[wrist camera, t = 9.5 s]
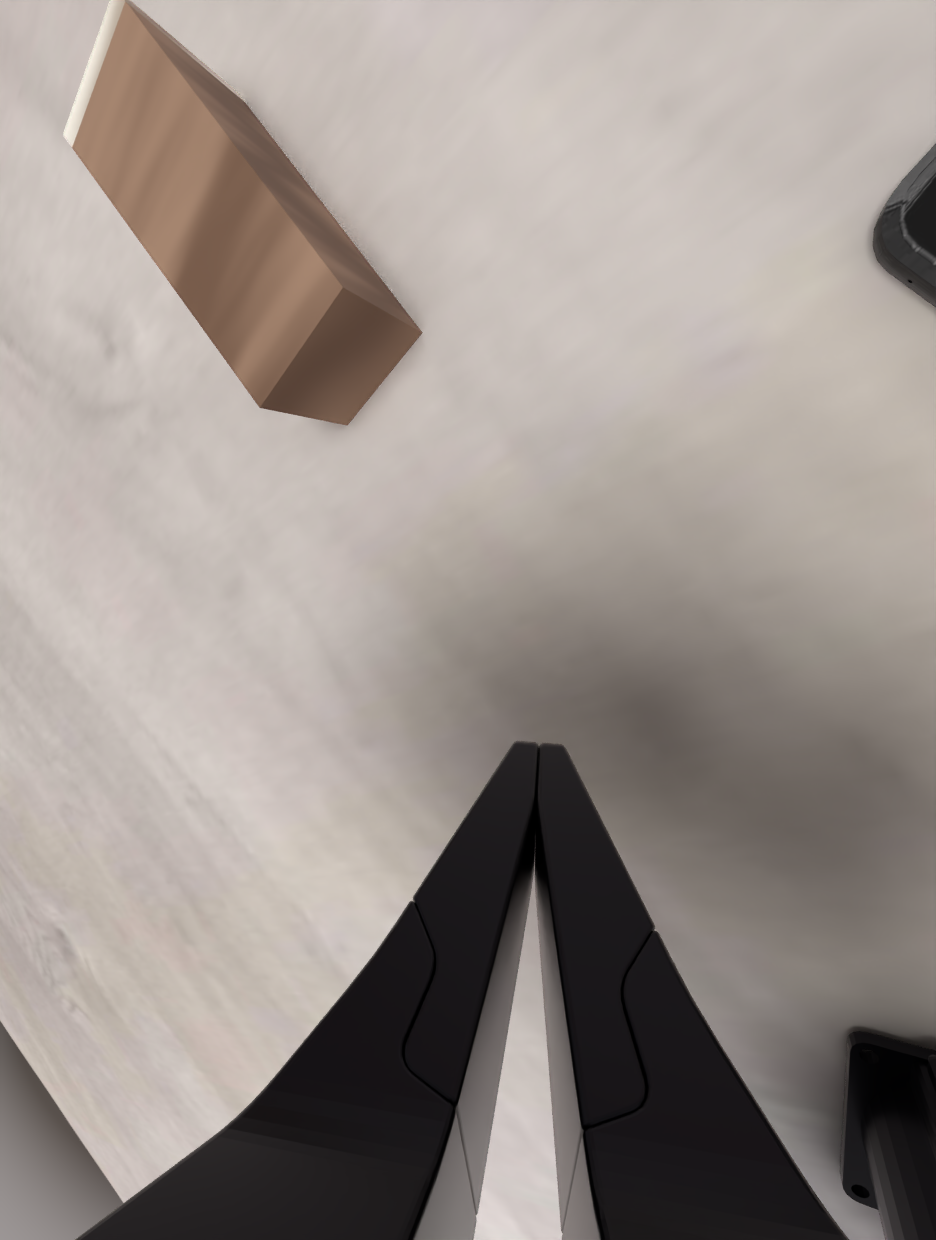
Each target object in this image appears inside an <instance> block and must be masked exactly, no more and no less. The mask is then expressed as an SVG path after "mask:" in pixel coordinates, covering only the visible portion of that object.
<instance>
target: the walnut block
mask: <svg viewBox="0 0 936 1240" xmlns="http://www.w3.org/2000/svg"><path fill="white" fill-rule="evenodd" d="M63 136H64V137H65V139H66V140H67V141H68V143H69V144H70V145H71V147H72V148H73V150H74V151H75V152H76V154H77V155H78V157H79V158H80V159H81V161H82V162H83V163H84V165H85V166H86V168H87V169H88V170H89V172H90V173H91V175H92V176H93V177H94V179H95V180H96V181H97V183H98V184H99V186H100V187H101V188H102V190H103V191H104V193H105V194H106V195H107V197H108V198H109V199H110V201H111V202H112V204H113V205H114V206H115V208H116V209H117V211H118V212H119V213H120V215H121V216H122V217H123V219H124V220H125V222H126V223H127V224H128V226H129V227H130V229H131V230H132V231H133V233H134V234H135V236H136V237H137V238H138V240H139V241H140V242H141V244H142V245H143V247H144V248H145V249H146V251H147V252H148V254H149V255H150V256H151V258H152V259H153V260H154V262H155V263H156V265H157V266H158V267H159V269H160V270H161V272H162V273H163V274H164V276H165V277H166V278H167V280H168V281H169V283H170V284H171V285H172V287H173V288H174V290H175V291H176V292H177V294H178V295H179V296H180V298H181V299H182V301H183V302H184V303H185V305H186V306H187V308H188V309H189V310H190V312H191V313H192V315H193V316H194V317H195V319H196V320H197V321H198V323H199V324H200V326H201V327H202V328H203V330H204V331H205V333H206V334H207V335H208V337H209V338H210V339H211V341H212V342H213V344H214V345H215V346H216V348H217V349H218V351H219V352H220V353H221V355H222V356H223V357H224V359H225V360H226V362H227V363H228V364H229V366H230V367H231V369H232V370H233V371H234V373H235V374H236V375H237V377H238V378H239V380H240V381H241V382H242V384H243V385H244V387H245V388H246V389H247V391H248V392H249V393H250V395H251V396H252V398H253V399H254V400H255V402H256V403H257V405H258V406H259V407H260V408H264V409H269V410H274V411H278V412H283V413H288V414H293V415H298V416H303V417H308V418H313V419H318V420H323V421H328V422H333V423H338V424H343V425H348V424H349V423H350V421H351V420H352V419H353V418H354V416H355V415H356V414H357V413H358V411H359V410H360V409H361V408H362V407H363V405H364V404H365V403H366V402H367V400H368V399H369V398H370V397H371V395H372V394H373V393H374V392H375V391H376V389H377V388H378V387H379V386H380V384H381V383H382V382H383V381H384V379H385V378H386V377H387V376H388V374H389V373H390V372H391V371H392V370H393V368H394V367H395V366H396V365H397V363H398V362H399V361H400V360H401V358H402V357H403V356H404V355H405V353H406V352H407V351H408V350H409V349H410V347H411V346H412V345H413V344H414V342H415V341H416V340H417V339H418V337H419V336H420V335H421V334H422V332H421V330H420V329H419V328H418V326H417V325H416V324H415V323H414V321H413V320H412V319H411V317H410V316H409V315H408V313H407V312H406V311H405V310H404V308H403V307H402V306H401V304H400V303H399V302H398V300H397V299H396V298H395V297H394V295H393V294H392V293H391V291H390V290H389V289H388V288H387V286H386V285H385V284H384V282H383V281H382V280H381V278H380V277H379V276H378V275H377V273H376V272H375V271H374V269H373V268H372V267H371V265H370V264H369V263H368V262H367V260H366V259H365V258H364V256H363V255H362V254H361V252H360V251H359V250H358V249H357V247H356V246H355V245H354V243H353V242H352V241H351V239H350V238H349V237H348V236H347V234H346V233H345V232H344V230H343V229H342V228H341V227H340V225H339V224H338V223H337V221H336V220H335V219H334V217H333V216H332V215H331V214H330V212H329V211H328V210H327V208H326V207H325V206H324V204H323V203H322V202H321V201H320V199H319V198H318V197H317V195H316V194H315V193H314V191H313V190H312V189H311V188H310V186H309V185H308V184H307V182H306V181H305V180H304V178H303V177H302V176H301V175H300V173H299V172H298V171H297V169H296V168H295V167H294V166H293V164H292V163H291V162H290V160H289V159H288V158H287V156H286V155H285V154H284V153H283V151H282V150H281V149H280V147H279V146H278V145H277V143H276V142H275V141H274V140H273V138H272V137H271V136H270V134H269V133H268V132H267V130H266V129H265V128H264V127H263V125H262V124H261V123H260V121H259V120H258V119H257V118H256V116H255V115H254V114H253V112H252V111H251V110H250V108H249V107H248V106H247V105H246V103H245V102H244V101H243V99H242V98H241V97H240V95H239V94H238V93H237V92H236V90H234V89H233V88H232V87H231V86H230V85H229V84H227V83H226V82H225V81H224V80H223V79H222V78H220V77H219V76H218V75H217V74H216V73H215V72H213V71H212V70H211V69H210V68H209V67H208V66H206V65H205V64H204V63H203V62H202V61H201V60H199V59H198V58H197V57H196V56H195V55H193V54H192V53H191V52H190V51H189V50H188V49H186V48H185V47H184V46H183V45H182V44H181V43H179V42H178V41H177V40H176V39H175V38H174V37H172V36H171V35H170V34H169V33H168V32H167V31H165V30H164V29H163V28H162V27H161V26H160V25H158V24H157V23H156V22H155V21H154V20H153V19H151V18H150V17H149V16H148V15H147V14H146V13H144V12H143V11H142V10H141V9H140V8H139V7H137V6H136V5H135V4H134V3H133V2H131V1H130V0H110V2H109V5H108V8H107V10H106V13H105V16H104V19H103V22H102V25H101V27H100V30H99V33H98V36H97V39H96V42H95V45H94V47H93V50H92V53H91V56H90V59H89V62H88V64H87V67H86V70H85V73H84V76H83V79H82V82H81V84H80V87H79V90H78V93H77V96H76V99H75V101H74V104H73V107H72V110H71V113H70V116H69V119H68V121H67V124H66V127H65V130H64V133H63Z"/></svg>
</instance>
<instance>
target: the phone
mask: <svg viewBox="0 0 936 1240" xmlns="http://www.w3.org/2000/svg"><path fill="white" fill-rule="evenodd" d="M873 248H874V251H875V255H876V258H877V261H878V262H879V263H880V264H881V265H882V266H883V267H884V269H885V270H886V271H887V272H889V273H890V274H891V275H893V276H894V277H895V278H897V279H898V280H899V281H901V282H902V283H903V284H905V285H906V286H908V287H909V288H910V289H912V290H913V291H914V292H916V293H917V294H918V295H920V296H921V297H922V298H924V299H925V300H927V301H928V302H929V303H931V304H932V305H933V306H935V307H936V144H935V145H934V146H933V147H932V148H931V150H930V151H929V152H928V153H927V154H926V155H925V156H924V157H923V158H922V159H921V160H920V162H919V163H918V164H917V165H916V166H915V167H914V168H913V169H912V170H911V171H910V172H909V174H908V175H907V176H906V177H905V178H904V179H903V180H902V181H901V183H900V184H899V186H898V187H897V188H896V190H895V191H894V192H893V194H892V195H891V197H890V198H889V200H888V202H887V203H886V205H885V207H884V208H883V210H882V212H881V214H880V216H879V219H878V222H877V224H876V227H875V229H874V238H873ZM908 280H911V281H912V283H910V282H908Z"/></svg>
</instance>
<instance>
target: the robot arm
mask: <svg viewBox="0 0 936 1240" xmlns="http://www.w3.org/2000/svg"><path fill="white" fill-rule="evenodd" d="M534 860H535V890H536V903H537V916H538V929H539V943H540V956H541V969H542V982H543V996H544V1009H545V1022H546V1035H547V1049H548V1062H549V1075H550V1088H551V1101H552V1115H553V1128H554V1141H555V1154H556V1168H557V1181H558V1194H559V1207H560V1221H561V1231H562V1233H563V1235H562V1240H849V1239H848V1238H847V1237H846V1235H845V1234H844V1233H843V1231H842V1230H841V1229H840V1227H839V1226H838V1225H837V1223H836V1222H835V1221H834V1219H833V1218H832V1217H831V1215H830V1214H829V1212H828V1211H827V1210H826V1208H825V1207H824V1205H823V1204H822V1202H821V1201H820V1200H819V1198H818V1197H817V1195H816V1194H815V1192H814V1191H813V1189H812V1188H811V1186H810V1185H809V1183H808V1182H807V1180H806V1179H805V1177H804V1176H803V1174H802V1173H801V1171H800V1170H799V1168H798V1167H797V1165H796V1163H795V1162H794V1160H793V1159H792V1157H791V1156H790V1154H789V1152H788V1151H787V1149H786V1148H785V1146H784V1144H783V1143H782V1141H781V1140H780V1138H779V1137H778V1135H777V1133H776V1132H775V1130H774V1129H773V1127H772V1125H771V1124H770V1122H769V1121H768V1119H767V1118H766V1116H765V1114H764V1113H763V1111H762V1110H761V1108H760V1106H759V1105H758V1103H757V1102H756V1100H755V1099H754V1097H753V1095H752V1094H751V1092H750V1091H749V1089H748V1087H747V1086H746V1084H745V1083H744V1081H743V1080H742V1078H741V1076H740V1075H739V1073H738V1072H737V1070H736V1068H735V1067H734V1065H733V1064H732V1062H731V1061H730V1059H729V1057H728V1056H727V1054H726V1053H725V1051H724V1050H723V1048H722V1046H721V1045H720V1043H719V1041H718V1040H717V1038H716V1036H715V1035H714V1033H713V1031H712V1030H711V1028H710V1026H709V1025H708V1023H707V1021H706V1020H705V1018H704V1016H703V1015H702V1013H701V1011H700V1010H699V1008H698V1006H697V1005H696V1003H695V1001H694V1000H693V998H692V996H691V994H690V992H689V990H688V989H687V987H686V985H685V983H684V981H683V979H682V977H681V975H680V974H679V972H678V970H677V968H676V966H675V964H674V962H673V961H672V959H671V957H670V955H669V953H668V951H667V949H666V947H665V945H664V943H663V941H662V939H661V937H660V935H659V933H658V932H657V931H654V929H655V925H654V923H653V921H652V919H651V917H650V915H649V913H648V911H647V909H646V907H645V905H644V903H643V901H642V899H641V897H640V895H639V893H638V891H637V889H636V887H635V885H634V883H633V881H632V879H631V877H630V875H629V873H628V871H627V869H626V867H625V865H624V863H623V861H622V860H621V858H620V856H619V854H618V852H617V850H616V848H615V846H614V844H613V842H612V840H611V838H610V836H609V834H608V832H607V830H606V828H605V826H604V824H603V822H602V820H601V818H600V816H599V814H598V812H597V810H596V808H595V806H594V804H593V802H592V800H591V798H590V796H589V794H588V792H587V790H586V788H585V786H584V784H583V782H582V780H581V778H580V776H579V774H578V772H577V770H576V768H575V766H574V764H573V762H572V760H571V758H570V756H569V754H568V752H567V750H566V748H565V747H564V746H563V745H562V744H552V743H542V744H540V746H539V745H538V744H537V743H536V742H524V741H516V742H514V743H513V745H512V746H511V748H510V749H509V751H508V752H507V754H506V755H505V757H504V758H503V760H502V761H501V763H500V764H499V766H498V767H497V769H496V771H495V772H494V774H493V775H492V777H491V778H490V780H489V781H488V783H487V784H486V786H485V787H484V789H483V790H482V792H481V794H480V795H479V797H478V798H477V800H476V801H475V803H474V804H473V806H472V807H471V809H470V810H469V812H468V813H467V815H466V817H465V818H464V820H463V821H462V823H461V824H460V826H459V827H458V829H457V830H456V832H455V833H454V835H453V836H452V838H451V840H450V841H449V843H448V844H447V846H446V847H445V849H444V850H443V852H442V853H441V855H440V856H439V858H438V859H437V861H436V863H435V864H434V866H433V867H432V869H431V870H430V872H429V873H428V875H427V876H426V878H425V879H424V881H423V882H422V884H421V886H420V887H419V889H418V890H417V892H416V893H415V895H414V896H413V901H414V902H413V901H410V902H409V904H408V905H407V907H406V908H405V910H404V911H403V913H402V914H401V916H400V917H399V919H398V920H397V922H396V923H395V925H394V926H393V928H392V929H391V931H390V932H389V933H388V935H387V936H386V938H385V939H384V941H383V942H382V944H381V945H380V946H379V948H378V949H377V951H376V952H375V954H374V955H373V956H372V958H371V959H370V960H369V961H368V963H367V964H366V965H365V967H364V968H363V969H362V970H361V972H360V973H359V974H358V975H357V977H356V978H355V979H354V981H353V982H352V983H351V984H350V986H349V987H348V988H347V990H346V991H345V992H344V993H343V994H342V996H341V997H340V998H339V999H338V1000H337V1002H336V1003H335V1004H334V1005H333V1007H332V1008H331V1009H330V1010H329V1011H328V1013H327V1014H326V1015H325V1016H324V1017H323V1019H322V1020H321V1021H320V1022H319V1024H318V1025H317V1026H316V1027H315V1028H314V1030H313V1031H312V1032H311V1033H310V1034H309V1036H308V1037H307V1038H306V1039H305V1041H304V1042H303V1043H302V1044H301V1045H300V1047H299V1048H298V1049H297V1050H296V1051H295V1053H294V1054H293V1055H292V1056H291V1058H290V1059H289V1060H288V1061H287V1062H286V1064H285V1065H284V1066H283V1067H282V1068H281V1070H280V1071H279V1072H278V1073H277V1074H276V1076H275V1077H274V1078H273V1079H272V1080H271V1081H270V1083H269V1084H268V1085H267V1086H266V1087H265V1088H264V1089H263V1091H262V1092H261V1093H260V1094H259V1095H258V1096H257V1097H256V1098H255V1099H254V1100H253V1101H252V1102H251V1103H250V1104H249V1105H248V1106H247V1107H246V1108H245V1109H244V1110H243V1111H242V1112H241V1113H240V1114H239V1115H238V1116H237V1117H236V1118H235V1119H234V1120H232V1121H231V1122H230V1123H229V1124H228V1125H227V1126H225V1127H224V1128H223V1129H222V1130H221V1131H219V1132H218V1133H217V1134H216V1135H214V1136H213V1137H212V1138H210V1139H209V1140H208V1141H206V1142H205V1143H204V1144H202V1145H201V1146H200V1147H198V1148H197V1149H196V1150H194V1151H193V1152H192V1153H190V1154H189V1155H188V1156H186V1157H185V1158H184V1159H182V1160H181V1161H180V1162H178V1163H177V1164H176V1165H174V1166H173V1167H172V1168H170V1169H169V1170H168V1171H166V1172H165V1173H164V1174H162V1175H161V1176H160V1177H158V1178H157V1179H156V1180H154V1181H153V1182H152V1183H150V1184H149V1185H147V1186H146V1187H145V1188H143V1189H142V1190H141V1191H139V1192H138V1193H137V1194H135V1195H134V1196H133V1197H131V1198H130V1199H129V1200H127V1201H126V1202H125V1203H123V1204H122V1205H121V1206H119V1207H118V1208H117V1209H115V1210H114V1211H113V1212H111V1213H110V1214H109V1215H107V1216H106V1217H105V1218H103V1219H102V1220H101V1221H99V1222H98V1223H97V1224H95V1225H94V1226H93V1227H92V1228H90V1229H89V1230H87V1231H86V1232H85V1233H83V1234H82V1235H81V1236H79V1237H78V1238H77V1239H75V1240H473V1239H474V1233H475V1227H476V1215H477V1213H478V1208H479V1202H480V1196H481V1190H482V1184H483V1178H484V1172H485V1166H486V1160H487V1154H488V1148H489V1142H490V1136H491V1130H492V1124H493V1118H494V1112H495V1106H496V1099H497V1093H498V1087H499V1081H500V1075H501V1069H502V1063H503V1057H504V1051H505V1045H506V1039H507V1033H508V1027H509V1021H510V1015H511V1009H512V1003H513V997H514V991H515V985H516V979H517V973H518V967H519V961H520V955H521V949H522V943H523V937H524V931H525V925H526V919H527V913H528V907H529V901H530V895H531V888H532V881H533V873H534ZM864 1049H865V1050H871V1051H873V1052H865V1051H863V1050H864ZM840 1174H841V1180H842V1185H843V1189H844V1191H845V1192H846V1194H847V1195H848V1196H850V1197H851V1198H852V1199H853V1200H855V1201H857V1202H859V1203H862V1204H864V1205H867V1206H869V1207H872V1208H875V1209H877V1210H879V1214H880V1218H881V1223H882V1227H883V1231H884V1235H885V1240H936V1051H934V1050H930V1049H927V1048H923V1047H919V1046H916V1045H912V1044H908V1043H905V1042H901V1041H897V1040H893V1039H890V1038H886V1037H882V1036H879V1035H875V1034H871V1033H868V1032H861V1031H858V1032H853V1033H852V1034H850V1035H849V1037H848V1039H847V1053H846V1071H845V1089H844V1107H843V1125H842V1143H841V1161H840Z"/></svg>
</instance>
